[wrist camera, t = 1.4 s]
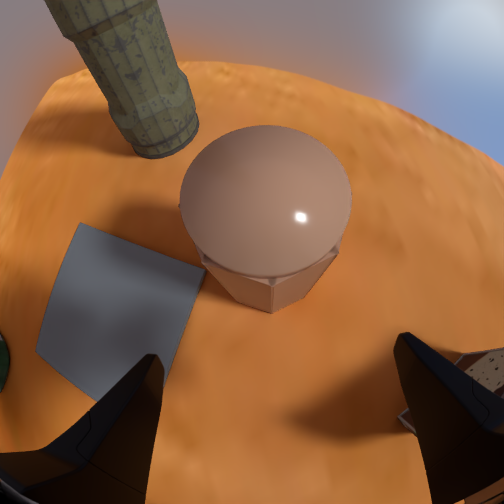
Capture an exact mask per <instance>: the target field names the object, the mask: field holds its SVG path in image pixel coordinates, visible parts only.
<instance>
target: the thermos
mask: <svg viewBox="0 0 504 504" xmlns="http://www.w3.org/2000/svg"><path fill="white" fill-rule="evenodd" d="M45 2H46V5H47V7H48V8H49V10H50V12H51V14H52V16H53V18H54V20H55V22H56V24H57V25H58V27H59V29H60V31H61V33H62V34H63V36H64V37H65V38H67V39H69V40H70V41H72V42H74V44H75V46H76V48H77V50H78V51H79V53H80V55H81V57H82V58H83V60H84V62H85V64H86V65H87V67H88V69H89V71H90V72H91V74H92V76H93V77H94V79H95V81H96V83H97V84H98V86H99V88H100V89H101V91H102V93H103V94H104V96H105V98H106V99H107V101H108V106H109V113H110V115H111V117H112V119H113V121H114V122H115V124H116V125H117V127H118V128H119V130H120V132H121V133H122V135H123V136H124V138H125V139H126V141H128V142H129V143H131V145H132V146H133V148H134V150H135V152H136V153H137V154H138V155H140V156H141V157H143V158H148V159H158V158H164V157H167V156H170V155H173V154H175V153H176V152H178V151H180V150H181V149H183V148H184V147H185V146H187V145H188V144H189V143H190V142H191V141H192V140H193V138H194V137H195V135H196V134H197V132H198V128H199V120H198V116H197V113H196V112H195V110H196V107H195V102H194V99H193V96H192V92H191V89H190V86H189V83H188V79H187V76H186V75H185V74H184V73H183V72H182V71H181V70H180V69H179V68H178V65H177V62H176V59H175V56H174V53H173V50H172V47H171V44H170V41H169V37H168V34H167V31H166V28H165V25H164V22H163V19H162V15H161V12H160V9H159V6H158V3H157V0H45Z"/></svg>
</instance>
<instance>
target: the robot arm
mask: <svg viewBox="0 0 504 504" xmlns="http://www.w3.org/2000/svg"><path fill="white" fill-rule="evenodd" d="M393 352H394V357H395V361H396V365H397V370H398V374H399V378H400V383H401V386H402V390H403V393H404V396H405V399H406V402H407V405H408V408H409V411H410V414H411V418H412V421H413V424H414V428H415V431H416V435H417V438H418V442H419V445H420V449H421V453H422V457H423V461H424V465H425V470H426V475H427V479H428V484H429V489H430V494H431V499H432V504H454V503H456V502H459V501H461V500H463V499H464V501H465V503H464V504H504V399H503V398H502V397H500V396H498V395H497V394H495V393H494V392H492V391H490V390H489V389H487V388H486V387H484V386H483V385H482V384H480V383H479V382H477V381H476V380H475V379H473V378H471V376H469V375H468V374H467V373H465V372H464V371H463V370H461V369H460V368H458V367H457V366H456V365H454V364H453V363H452V362H450V361H449V360H448V359H446V358H445V357H443V356H442V355H441V354H439V353H438V352H436V351H435V350H434V349H432V348H431V347H430V346H428V345H427V344H425V343H424V342H423V341H421V340H420V339H418V338H417V337H415V336H414V335H413V334H411V333H410V332H405V333H400V334H399V335H398V337H397V340H396V343H395V346H394V350H393ZM164 375H165V370H164V366H163V364H162V362H161V360H160V358H159V356H158V355H157V354H151V353H148V354H146V355H145V356H144V357H143V358H142V359H141V360H140V361H138V362H137V363H136V364H135V365H134V366H133V367H132V368H131V369H130V370H129V371H128V372H127V373H126V374H125V375H124V376H123V377H122V378H121V379H120V380H119V381H118V382H117V383H116V384H115V385H114V386H113V387H112V388H111V389H110V390H109V391H108V392H107V393H106V394H105V395H104V396H103V397H102V398H101V399H100V400H99V401H98V402H97V403H96V404H95V405H94V406H93V407H92V408H91V409H90V411H88V412H87V413H86V414H85V415H84V416H82V417H81V418H80V419H79V420H78V421H77V422H76V423H75V424H74V425H73V426H71V427H70V428H69V429H68V430H67V431H65V432H64V433H63V434H62V435H60V436H59V437H58V438H56V439H55V440H54V441H53V442H51V443H50V444H49V445H47V446H46V447H44V448H42V449H39V450H35V451H25V452H11V453H0V504H145V499H146V491H147V484H148V478H149V471H150V465H151V459H152V454H153V448H154V442H155V437H156V432H157V427H158V422H159V417H160V412H161V406H162V395H163V385H164Z"/></svg>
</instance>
